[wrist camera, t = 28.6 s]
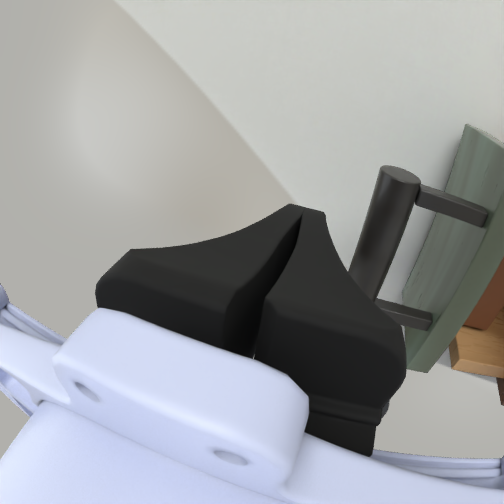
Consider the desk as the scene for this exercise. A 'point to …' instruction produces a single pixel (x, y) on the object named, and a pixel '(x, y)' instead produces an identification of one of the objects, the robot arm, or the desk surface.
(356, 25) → the desk surface
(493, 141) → the drawer
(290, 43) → the desk surface
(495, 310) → the brown long block
